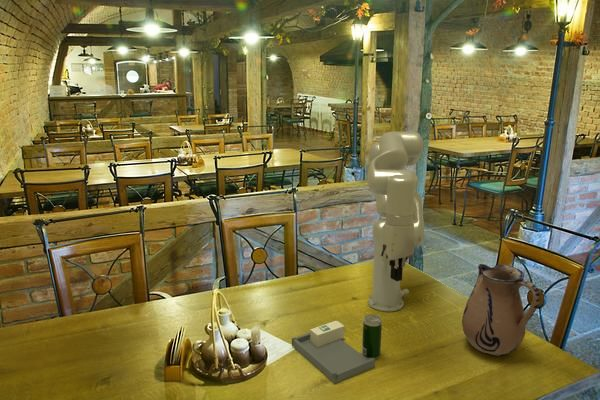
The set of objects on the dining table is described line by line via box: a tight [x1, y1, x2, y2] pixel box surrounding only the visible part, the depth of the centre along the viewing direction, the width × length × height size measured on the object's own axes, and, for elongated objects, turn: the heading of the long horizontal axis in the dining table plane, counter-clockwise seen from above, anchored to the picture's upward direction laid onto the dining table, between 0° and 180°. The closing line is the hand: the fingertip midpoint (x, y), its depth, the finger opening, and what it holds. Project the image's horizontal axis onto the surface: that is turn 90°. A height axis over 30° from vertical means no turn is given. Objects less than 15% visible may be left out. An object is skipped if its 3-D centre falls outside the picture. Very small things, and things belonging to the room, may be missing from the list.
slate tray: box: [291, 332, 376, 384], centre depth 143 cm, size 14×22×2 cm, turn 32°
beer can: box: [361, 313, 383, 360], centre depth 142 cm, size 5×5×12 cm
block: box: [309, 320, 345, 347], centre depth 150 cm, size 4×4×10 cm
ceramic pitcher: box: [461, 263, 541, 357], centre depth 143 cm, size 18×21×25 cm
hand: (396, 279), depth 142 cm, fingers closed
